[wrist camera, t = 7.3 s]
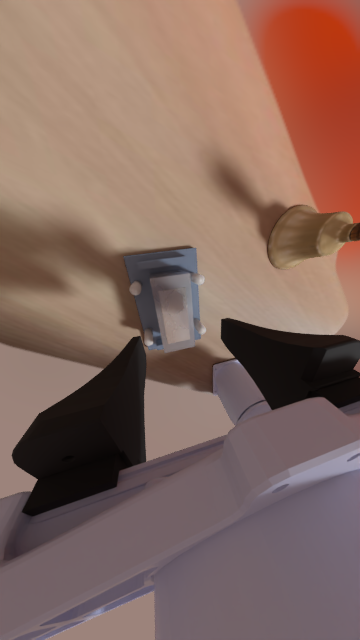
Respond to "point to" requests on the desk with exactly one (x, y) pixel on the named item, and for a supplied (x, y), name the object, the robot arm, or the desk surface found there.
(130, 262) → the grey peg stand
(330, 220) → the hand bell
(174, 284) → the block
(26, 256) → the desk surface
